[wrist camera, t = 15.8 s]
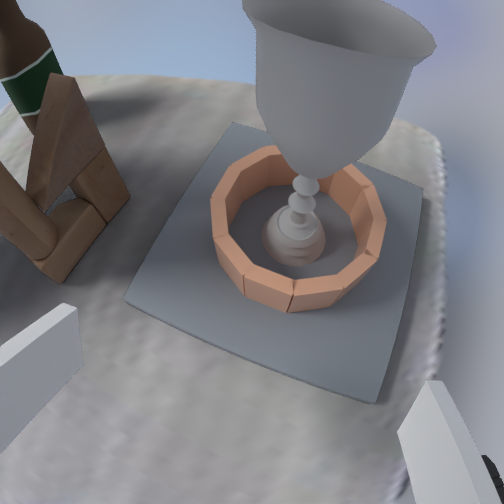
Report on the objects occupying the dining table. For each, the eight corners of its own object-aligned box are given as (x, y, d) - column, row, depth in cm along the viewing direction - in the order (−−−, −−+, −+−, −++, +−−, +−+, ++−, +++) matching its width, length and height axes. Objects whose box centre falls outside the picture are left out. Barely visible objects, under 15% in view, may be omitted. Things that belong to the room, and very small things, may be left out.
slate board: (129, 304, 24) (122, 299, 23) (232, 132, 32) (232, 122, 31) (368, 403, 21) (375, 403, 20) (417, 197, 29) (423, 188, 27)
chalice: (231, 253, 25) (202, 19, 8) (269, 187, 27) (283, -25, 11) (320, 293, 23) (435, 87, 7) (350, 221, 26) (436, 21, 9)
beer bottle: (48, 146, 33) (-32, -9, 11) (24, 132, 34) (-46, 1, 13) (90, 107, 35) (34, -48, 14) (62, 97, 37) (9, -35, 16)
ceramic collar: (190, 274, 24) (179, 250, 20) (253, 159, 29) (253, 127, 25) (343, 334, 22) (360, 321, 18) (379, 204, 27) (395, 176, 23)
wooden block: (132, 196, 29) (57, 30, 13) (62, 287, 25) (-80, 161, 9) (108, 182, 30) (33, 31, 13) (41, 266, 26) (-86, 145, 10)
